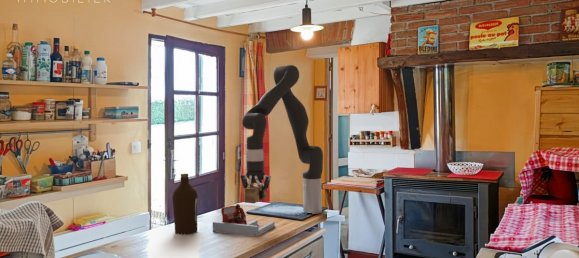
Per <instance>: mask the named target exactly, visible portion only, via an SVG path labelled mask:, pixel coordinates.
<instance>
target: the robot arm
mask: <svg viewBox="0 0 579 258" xmlns="http://www.w3.org/2000/svg"><path fill="white" fill-rule="evenodd" d="M272 75H273V76H272V77H273V81H274V84H275V85H274V86H273V87H272V88H270V89H269V90H268V91H266V92H265V93H264V94H263V95H262V96H261V97H260V99H259V100H258V101H257V103H256V104H255V105H254V106H252V107H251V108H250V109H249V110H248V111H247V112H245V114H244V115H243V118H242V121H241V122H242V126H243V127H244V129H246V130H253V133H252V134H251V135H248V136H247V137H246V156H245V160H246V174H241V175H240V180H241V183H242V187H243V190H244V189H245V188H248V187H251V186H253V185H255V184H257V185H258V187H259V190H260V191H259V199H260V200H261V201H263V200H264V199H263V198H264V190H265V189H267V190H268V189H269V185H270V182H271V178H272V177H271V175H267V174H266V173H265V155H264V153H265V151H264V137H265V132H266V128H267V118H266V117H267V116H269V115H270V114H271V112H272V111H273V109H274V108H275V107H276V105H277V104H278V103H279V102H280V100H282V103H283V106H284V109H285V111H286V115H287V119H288V121H289V125H290V127H291V130H292V134H293V138H294V140H295V145H296V150H297V153H298V154H297V155H298V158H299V160H300V162H301V163H303V164H304V165H305V164H306V165H308V170H305V171H303V173H302V203H303V204H302V206H303V207H302V208H303V209H302V210H303V211H304V212H308V213H312V214H311V215H316V214H317V215H318V214H321V213H323V212H322V210H323V208H322V207H323V206H322V205H323V204H322V201H323V200H322V173H323V169H324V168H323V167H324V166H323V165H324V152H323V150H322V148H321V147H320V146H317V145H316V146H315V145H310V144H309V142H308V136H307V133H308V132H307V131H308V128H309V121H310V120H309V116H308V113H307V110H306V107H305V106H304V104H303V103H302V102H301V101H300V100H299V99H298V98H297V96H296V95H294V93H293V91H292V90H291V88H293V87H294V86H295V85H296V84H297V83H298V81H299V78H300V71H299V69H298V67H297V66H295V65H293V64H289V65H282V66H277V67H275V68H274V70H273V73H272ZM263 180H264V181H263ZM263 184H264V185H263ZM262 199H263V200H262ZM303 211H302V212H303ZM304 212H303V213H304Z"/></svg>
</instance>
